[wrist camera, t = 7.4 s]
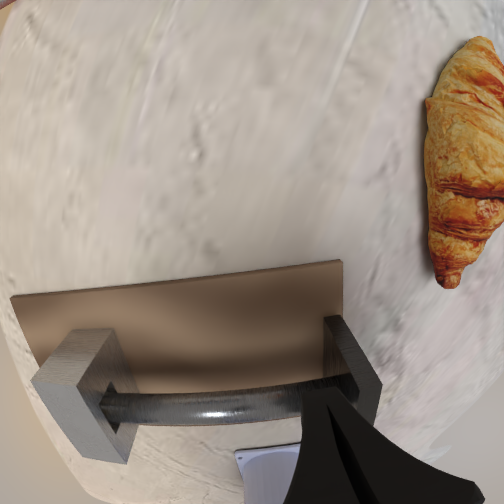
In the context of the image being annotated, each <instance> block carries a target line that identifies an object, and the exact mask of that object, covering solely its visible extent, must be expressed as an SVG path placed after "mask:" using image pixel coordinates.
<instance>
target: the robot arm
mask: <svg viewBox="0 0 504 504" xmlns="http://www.w3.org/2000/svg"><path fill="white" fill-rule="evenodd" d="M301 424H302V439H301V443H300V444H294V445H287V446H280V447H272V448H263V449H253V450H240V451H236V452H235V458H236V461H237V464H238V467H239V470H240V473H241V476H242V479H243V482H244V504H483V502H484V501H485V498H484V496H483V494H482V493H481V491H480V489H479V488H478V486H477V485H476V484H475V482H473V481H469V480H466V479H463V478H459V477H456V476H453V475H450V474H448V473H446V472H443V471H441V470H438V469H436V468H434V467H432V466H430V465H428V464H426V463H424V462H422V461H420V460H418V459H416V458H415V457H413V456H412V455H410V454H408V453H407V452H405V451H404V450H402V449H401V448H399V447H398V446H396V445H395V444H394V443H392V442H391V441H390V440H389V439H387V438H386V437H385V436H384V435H382V434H381V433H380V432H379V431H378V430H377V429H376V428H374V427H373V426H372V425H371V424H370V423H369V422H368V421H367V420H366V419H365V418H364V417H363V416H362V415H361V414H360V413H359V412H358V411H357V410H356V409H355V408H354V406H353V405H352V404H351V403H350V402H349V401H348V400H347V398H346V397H345V396H344V395H343V394H342V392H341V391H340V390H339V388H338V387H336V386H334V387H329V388H323V389H318V390H313V391H307V392H303V393H302V394H301Z"/></svg>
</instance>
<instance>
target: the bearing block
mask: <svg viewBox="0 0 504 504" xmlns="http://www.w3.org/2000/svg"><path fill="white" fill-rule="evenodd" d="M30 381H31V383H32V384H33V386H34V388H35V389H36V391H37V393H38V394H39V396H40V398H41V399H42V401H43V403H44V404H45V406H46V407H47V409H48V410H49V412H50V413H51V415H52V416H53V418H54V419H55V421H56V422H57V424H58V425H59V427H60V428H61V429H62V431H63V432H64V433H65V435H66V436H67V438H68V439H69V440H70V442H71V443H72V444H73V445H74V447H75V448H76V449H77V450H78V452H79V453H80V454H81V455H82V457H85V458H90V459H95V460H101V461H106V462H113V463H119V464H126V465H127V461H128V458H129V455H130V452H131V448H132V445H133V442H134V439H135V435H136V432H137V429H138V426H139V424H130V423H118V422H108V421H107V419H106V418H105V416H104V414H103V413H102V411H101V409H100V408H99V406H98V405H99V403H100V401H101V399H102V397H103V395H104V393H105V392H118V393H140V391H139V389H138V387H137V385H136V382H135V380H134V378H133V375H132V373H131V371H130V368H129V366H128V363H127V361H126V358H125V356H124V353H123V351H122V348H121V346H120V343H119V340H118V338H117V335H116V332H115V329H114V328H93V329H72V330H71V331H70V333H69V334H68V335H67V336H66V337H65V338H64V340H63V341H62V342H61V343H60V344H59V346H58V347H57V348H56V349H55V350H54V351H53V353H52V354H51V355H50V356H49V358H48V359H47V360H46V361H45V362H44V364H43V365H42V366H41V367H40V369H39V370H38V371H37V372H36V374H35V375H34V376H33V378H32V379H31V380H30Z"/></svg>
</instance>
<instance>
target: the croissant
mask: <svg viewBox="0 0 504 504" xmlns="http://www.w3.org/2000/svg"><path fill="white" fill-rule="evenodd" d="M425 104H426V108H427V124H428V127H429V128H428V131H427V135H426V139H425V142H424V169H425V178H426V183H427V188H428V195H427V199H428V209H429V228H430V229H429V232H428V246H429V250H430V255H431V260H432V263H433V266H434V272H435V278H436V281H437V283H438V284H439V285H441V287H443V288H444V289H454V288H456V287H457V286H458V285H459V283H460V280H461V274H462V272H463V270H464V268H465V266H467V265H469V264H473V262H475V261H476V260H477V258H478V257H479V255H480V253H481V252H482V251H483V249H484V246H485V244H486V241H487V239H489V238H490V237H491V235H492V233H493V232H494V231H495V230H496V229H497V228H498V227H500V225H501V224H502V223H503V222H504V66H503V64H502V62H501V61H500V59H499V57H498V55H497V54H496V52H495V49H494V46H493V44H492V41H491V40H489V39H488V38H485V37H482V36H477V37H474V38H471V39H470V40H469V41H468V42H467V43H466V44H465V46H464V47H463V48H462V49H460V50H458V51H457V52H456V53H455V54H454V55H453V57H452V58H451V59H450V60H449V61H448V63H447V65H446V67H445V68H444V69H443V71H442V72H441V75H440V78H439V81H438V83H437V85H436V87H435V90H434V93H433V95H432V97H431V98H426V100H425Z"/></svg>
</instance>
